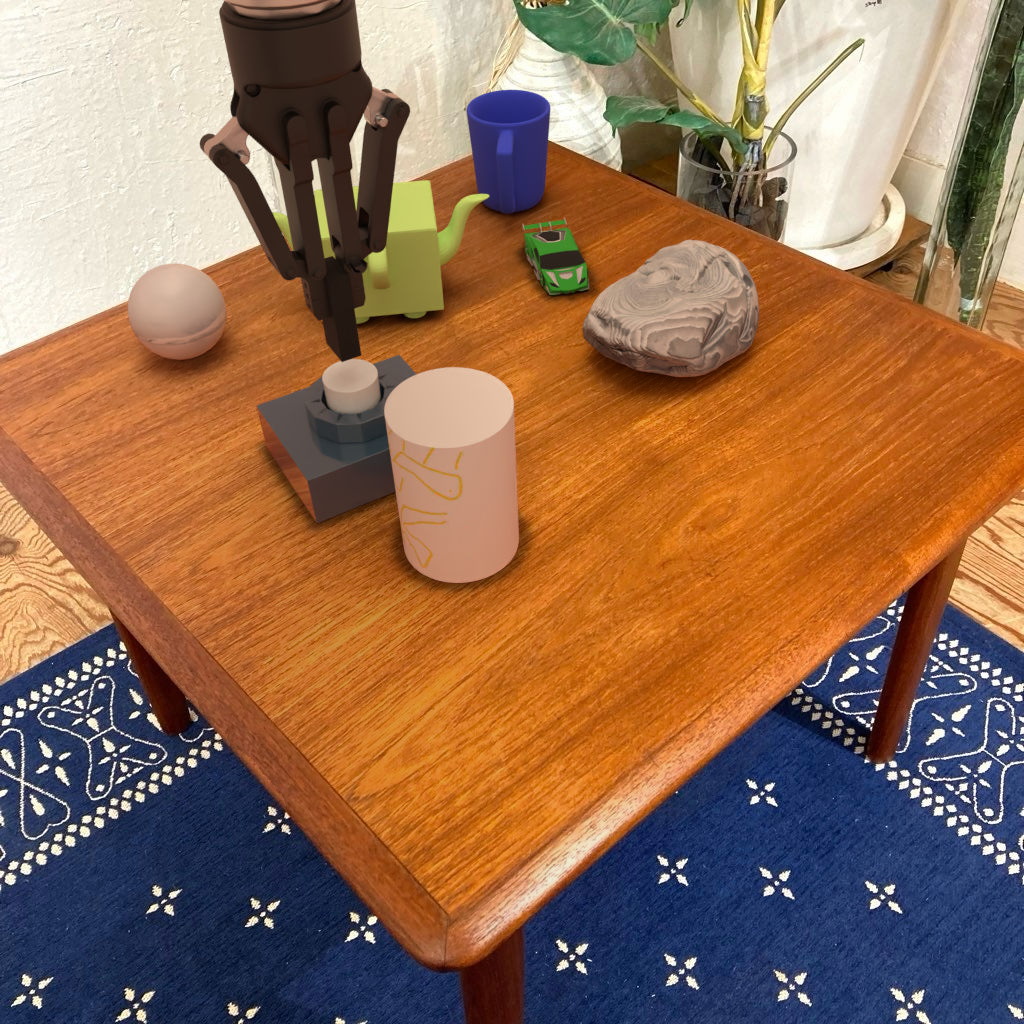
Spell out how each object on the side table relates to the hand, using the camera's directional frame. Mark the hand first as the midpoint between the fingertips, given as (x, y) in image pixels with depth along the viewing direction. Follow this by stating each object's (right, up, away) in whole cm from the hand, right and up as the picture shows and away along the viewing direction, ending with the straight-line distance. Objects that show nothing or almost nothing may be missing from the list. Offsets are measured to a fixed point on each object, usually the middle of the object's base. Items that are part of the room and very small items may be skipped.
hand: (343, 349), depth 75 cm
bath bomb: (-16, +2, +18) cm, 24 cm away
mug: (+12, +19, +34) cm, 41 cm away
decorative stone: (+25, +3, +16) cm, 30 cm away
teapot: (0, +8, +23) cm, 24 cm away
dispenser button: (0, -3, +3) cm, 5 cm away
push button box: (0, -7, +7) cm, 10 cm away
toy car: (+16, +12, +26) cm, 33 cm away
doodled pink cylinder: (+8, -14, 0) cm, 16 cm away
